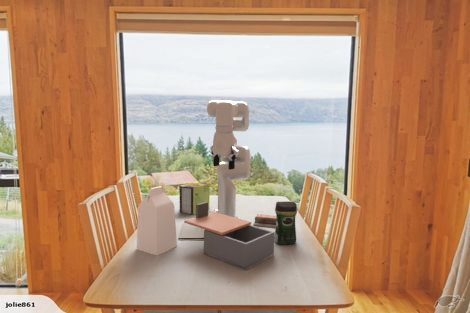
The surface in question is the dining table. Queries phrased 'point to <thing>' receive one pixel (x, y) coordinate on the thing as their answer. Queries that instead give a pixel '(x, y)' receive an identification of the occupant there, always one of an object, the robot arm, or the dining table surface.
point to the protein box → (193, 196)
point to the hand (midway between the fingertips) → (223, 167)
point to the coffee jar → (285, 223)
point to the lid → (215, 220)
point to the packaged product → (265, 221)
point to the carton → (240, 246)
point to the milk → (156, 223)
